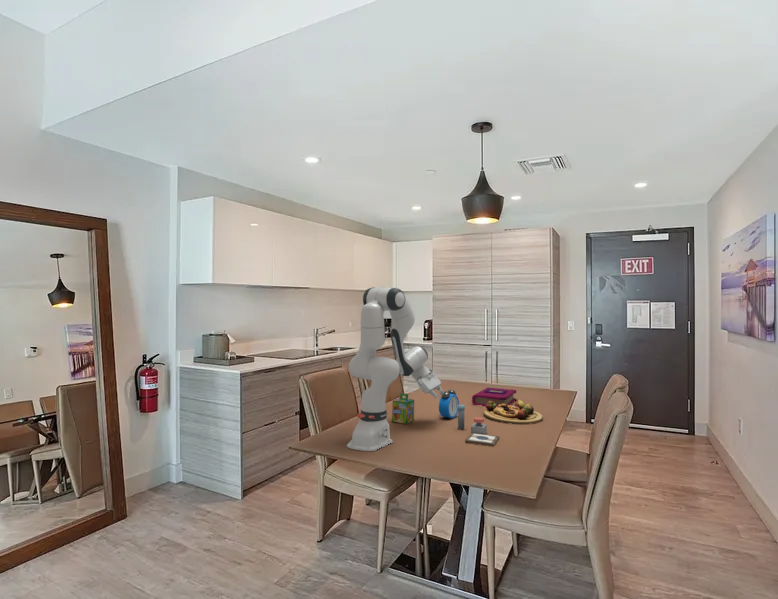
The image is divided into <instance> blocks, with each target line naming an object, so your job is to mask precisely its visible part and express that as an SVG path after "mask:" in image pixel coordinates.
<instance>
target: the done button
mask: <svg viewBox="0 0 778 599" xmlns="http://www.w3.org/2000/svg"><path fill="white" fill-rule="evenodd" d="M484 422H485V418H484V417H480V416H479V417H477V416H475V417H474V418H473V423H476V426H481V424H484Z"/></svg>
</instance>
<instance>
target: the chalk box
mask: <svg viewBox="0 0 778 599" xmlns="http://www.w3.org/2000/svg"><path fill="white" fill-rule="evenodd" d="M403 396H404V397H403ZM391 410H392V411H391V422H392V423H396V422H397V424H402V423H405V424H404V425H408V424H410V423H412V422H413V420H414V421H415V400H414V399H413V398H409V394H408V393H403V392H401V393H400V395H399V398H396V399H394V400H392V409H391ZM411 421H412V422H411ZM409 422H410V423H409Z"/></svg>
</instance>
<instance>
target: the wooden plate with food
mask: <svg viewBox="0 0 778 599" xmlns="http://www.w3.org/2000/svg"><path fill="white" fill-rule="evenodd" d="M483 416H484V417H485V418H487V419H488V420H490V419H491V421H493V420H494V422H496V421H498V422H497V423H501V422H503V423H502V424H508V423H512V424H511V425H530V424H529V423H533V424H537V423H536V422H538V423H540V422H542V421H543V419H544V418H543V417H544V416H543V415H542V414H541V413H540V412H538V411H537V410H536V411H535V409H534V407H533V405H531V404H530V403H527V404H526V403H525V402H524V401H522V400H521V399H518V400H516V401H515V404H514V405H512V404H511V405H506V404H499V405H498V407H496V404H495V403H494V402H492V401H488V402H487V404H486V406H485V410H483ZM541 420H542V421H541ZM539 421H540V422H539Z"/></svg>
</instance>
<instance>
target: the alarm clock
mask: <svg viewBox="0 0 778 599" xmlns="http://www.w3.org/2000/svg"><path fill="white" fill-rule="evenodd" d="M443 392H444V394H442V395H441V394H440V395H441V396H440V398H439V402H438V412H439V415H440V416H441V417H443V418H448V420H451V419H455V418H456V416H458V405H460V401H459V398H458V395H457V392H456V391H455V390H454V389H449V390H447V391H446V390H445V391H443Z"/></svg>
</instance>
